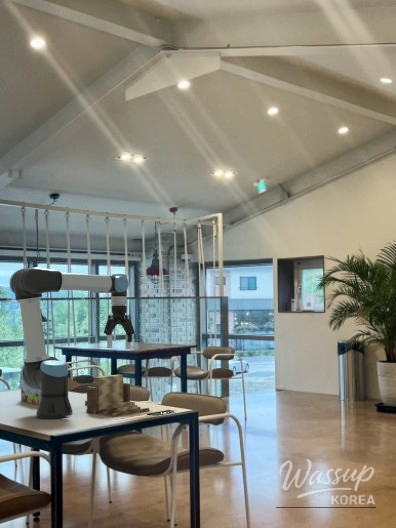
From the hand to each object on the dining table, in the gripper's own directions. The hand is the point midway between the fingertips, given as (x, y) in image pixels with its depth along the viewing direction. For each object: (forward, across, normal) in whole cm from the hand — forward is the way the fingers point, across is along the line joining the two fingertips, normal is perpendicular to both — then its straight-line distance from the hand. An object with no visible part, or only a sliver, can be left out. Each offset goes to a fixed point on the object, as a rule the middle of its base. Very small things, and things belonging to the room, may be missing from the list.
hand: (118, 348), depth 322 cm
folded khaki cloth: (+26, -20, +23) cm, 39 cm away
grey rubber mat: (+26, -37, +10) cm, 46 cm away
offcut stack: (+26, -32, +23) cm, 47 cm away
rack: (+27, -26, +23) cm, 43 cm away
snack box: (+27, +36, +24) cm, 51 cm away
